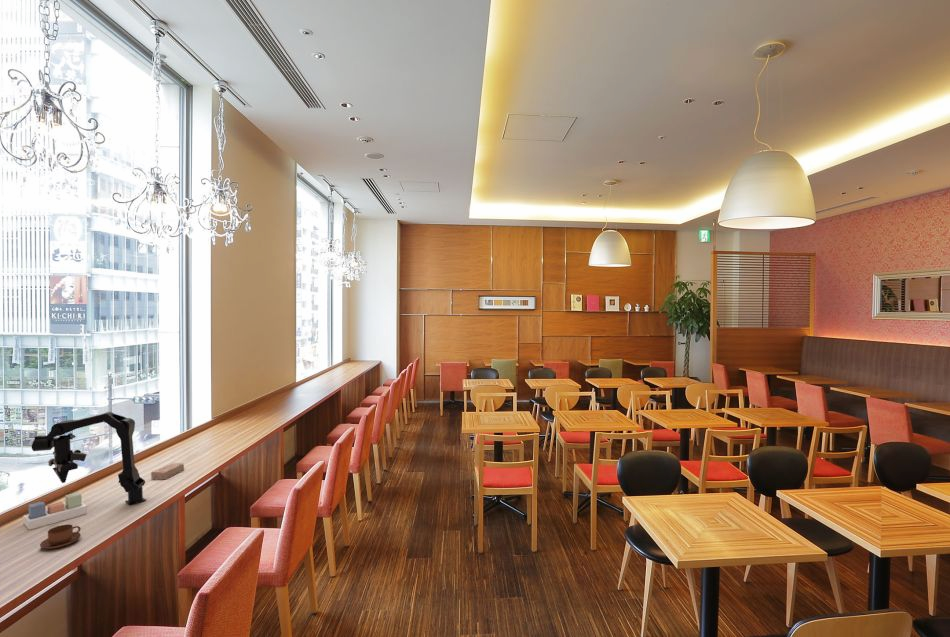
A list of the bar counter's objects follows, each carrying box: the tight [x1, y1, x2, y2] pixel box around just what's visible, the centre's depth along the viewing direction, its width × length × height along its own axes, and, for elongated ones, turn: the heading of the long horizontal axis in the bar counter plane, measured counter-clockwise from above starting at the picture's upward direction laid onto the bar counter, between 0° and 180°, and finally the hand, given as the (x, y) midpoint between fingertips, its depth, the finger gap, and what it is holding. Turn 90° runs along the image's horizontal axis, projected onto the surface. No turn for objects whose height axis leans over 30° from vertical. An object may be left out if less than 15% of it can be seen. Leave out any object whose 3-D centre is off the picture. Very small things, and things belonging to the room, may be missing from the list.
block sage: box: [64, 491, 83, 509], centre depth 216 cm, size 5×5×6 cm
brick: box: [150, 462, 185, 480], centre depth 266 cm, size 17×8×5 cm, turn 179°
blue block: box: [27, 501, 46, 520], centre depth 206 cm, size 5×5×6 cm
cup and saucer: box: [39, 524, 81, 550], centre depth 187 cm, size 12×12×6 cm
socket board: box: [23, 502, 88, 530], centre depth 211 cm, size 10×19×4 cm, turn 144°
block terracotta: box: [46, 501, 65, 514], centre depth 211 cm, size 5×5×6 cm
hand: (63, 482), depth 220 cm, fingers closed
